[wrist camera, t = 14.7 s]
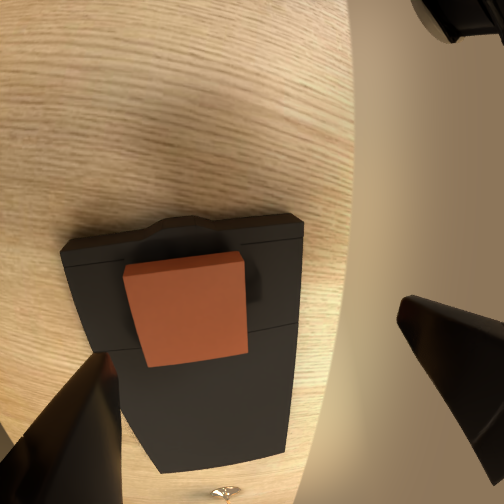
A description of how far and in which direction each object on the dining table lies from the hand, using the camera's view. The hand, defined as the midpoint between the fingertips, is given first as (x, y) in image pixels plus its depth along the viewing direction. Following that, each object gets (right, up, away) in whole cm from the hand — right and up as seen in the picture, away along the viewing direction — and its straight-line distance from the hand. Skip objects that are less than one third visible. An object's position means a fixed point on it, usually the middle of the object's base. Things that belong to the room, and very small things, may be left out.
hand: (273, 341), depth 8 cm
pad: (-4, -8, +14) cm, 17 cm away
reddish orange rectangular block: (-5, 0, +11) cm, 12 cm away
